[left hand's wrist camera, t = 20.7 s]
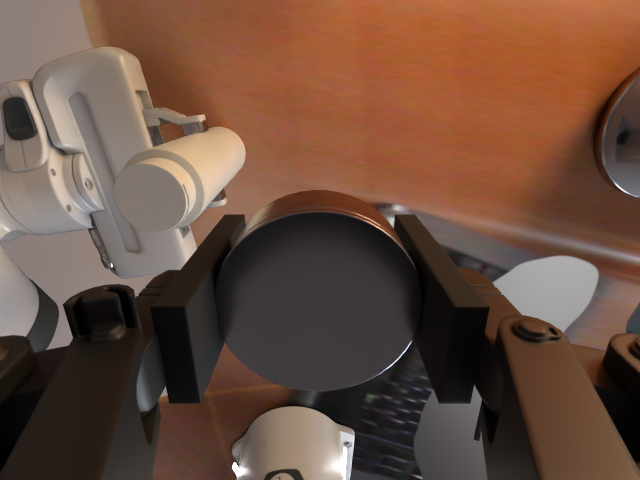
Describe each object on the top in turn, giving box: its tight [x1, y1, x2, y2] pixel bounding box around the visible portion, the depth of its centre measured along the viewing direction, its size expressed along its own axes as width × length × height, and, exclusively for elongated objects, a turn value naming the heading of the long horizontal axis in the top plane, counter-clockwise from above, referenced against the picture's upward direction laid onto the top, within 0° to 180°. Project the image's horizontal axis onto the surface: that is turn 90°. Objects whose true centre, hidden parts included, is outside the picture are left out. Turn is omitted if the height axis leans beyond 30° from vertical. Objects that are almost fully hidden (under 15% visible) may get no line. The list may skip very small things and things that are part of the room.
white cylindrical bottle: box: [113, 127, 245, 232], centre depth 30 cm, size 5×5×19 cm
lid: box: [214, 190, 423, 391], centre depth 11 cm, size 6×6×2 cm
